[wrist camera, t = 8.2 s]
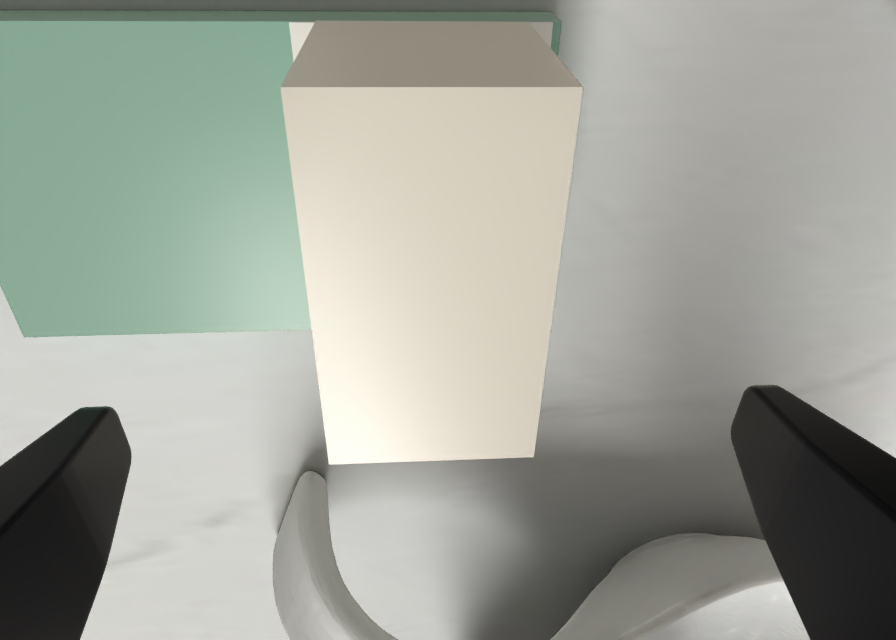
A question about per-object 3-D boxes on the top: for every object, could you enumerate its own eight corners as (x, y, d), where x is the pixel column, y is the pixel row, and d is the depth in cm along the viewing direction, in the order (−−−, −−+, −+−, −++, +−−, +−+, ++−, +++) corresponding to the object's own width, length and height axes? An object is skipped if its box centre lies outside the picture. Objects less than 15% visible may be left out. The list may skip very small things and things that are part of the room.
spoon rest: (874, 514, 27) (1004, 690, 21) (718, 656, 33) (787, 823, 28) (322, 392, 22) (294, 588, 16) (256, 591, 28) (218, 786, 22)
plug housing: (528, 22, 14) (582, 87, 10) (503, 326, 18) (533, 457, 14) (315, 20, 14) (279, 86, 9) (344, 329, 18) (328, 464, 14)
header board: (550, 11, 15) (604, 62, 11) (522, 300, 20) (553, 407, 16) (-84, 10, 14) (-264, 63, 10) (43, 312, 19) (-49, 427, 15)
